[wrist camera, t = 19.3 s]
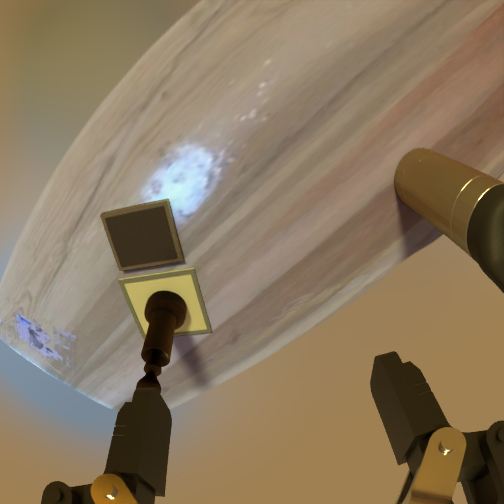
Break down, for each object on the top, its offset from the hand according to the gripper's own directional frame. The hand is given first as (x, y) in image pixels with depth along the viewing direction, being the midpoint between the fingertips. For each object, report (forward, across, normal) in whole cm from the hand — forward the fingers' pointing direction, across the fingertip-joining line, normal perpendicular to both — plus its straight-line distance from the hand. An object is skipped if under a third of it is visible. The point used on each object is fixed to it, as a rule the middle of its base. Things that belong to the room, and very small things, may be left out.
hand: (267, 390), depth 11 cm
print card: (+33, +15, +19) cm, 41 cm away
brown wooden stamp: (+33, +15, +19) cm, 41 cm away
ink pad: (+33, +15, +6) cm, 37 cm away
